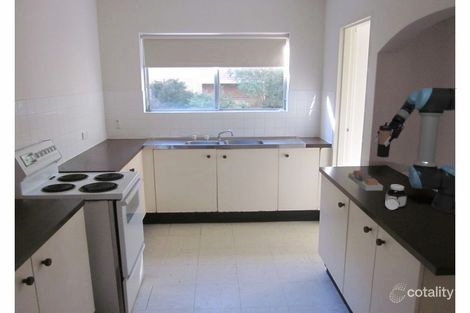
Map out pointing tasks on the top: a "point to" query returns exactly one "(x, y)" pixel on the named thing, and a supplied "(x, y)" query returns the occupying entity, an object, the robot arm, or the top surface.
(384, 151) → the travel mug
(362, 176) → the middle key
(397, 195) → the spread jar
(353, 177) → the grey tray
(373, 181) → the key
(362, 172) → the key
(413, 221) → the top surface
